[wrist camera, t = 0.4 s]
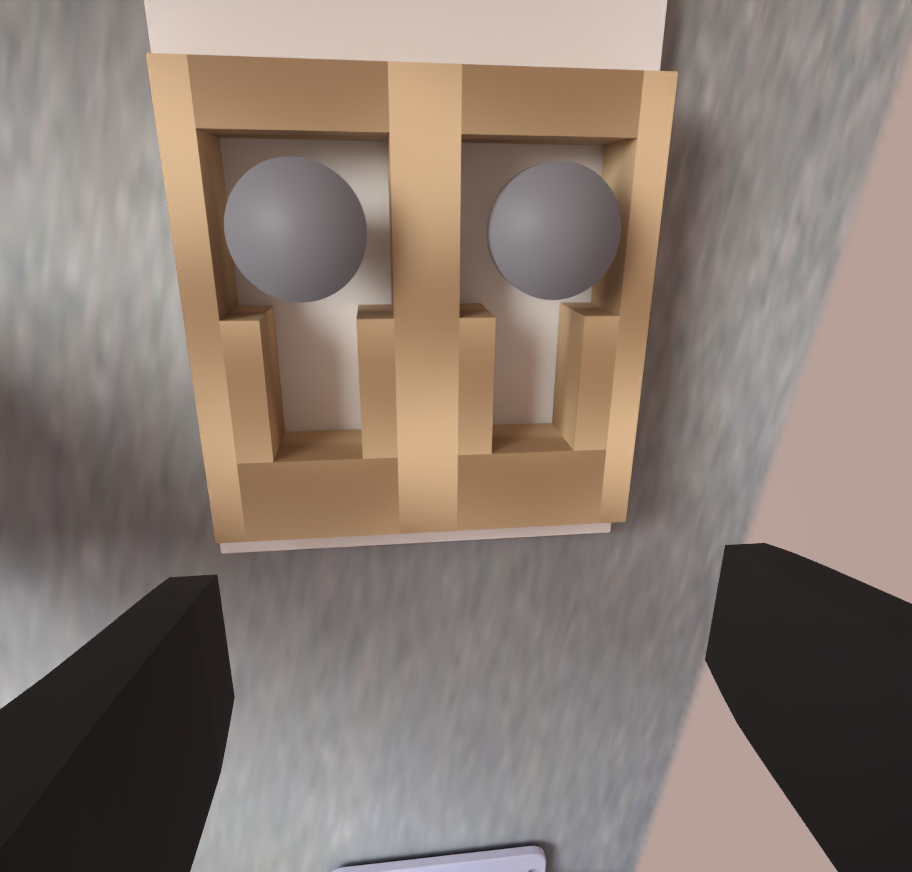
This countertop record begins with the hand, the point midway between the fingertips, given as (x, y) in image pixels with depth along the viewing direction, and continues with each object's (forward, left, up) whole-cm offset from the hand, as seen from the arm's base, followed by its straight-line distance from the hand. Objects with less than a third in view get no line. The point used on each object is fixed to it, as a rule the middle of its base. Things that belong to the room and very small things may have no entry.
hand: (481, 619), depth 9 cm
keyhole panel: (+3, 0, -9) cm, 10 cm away
